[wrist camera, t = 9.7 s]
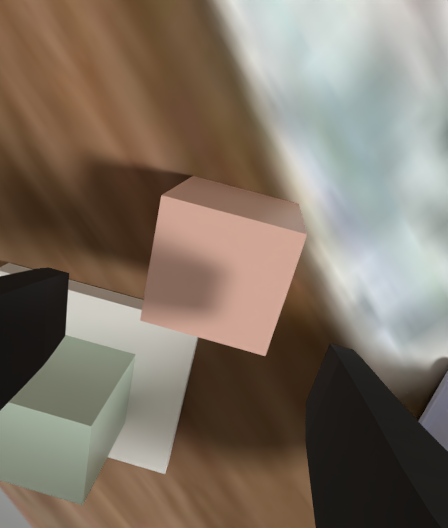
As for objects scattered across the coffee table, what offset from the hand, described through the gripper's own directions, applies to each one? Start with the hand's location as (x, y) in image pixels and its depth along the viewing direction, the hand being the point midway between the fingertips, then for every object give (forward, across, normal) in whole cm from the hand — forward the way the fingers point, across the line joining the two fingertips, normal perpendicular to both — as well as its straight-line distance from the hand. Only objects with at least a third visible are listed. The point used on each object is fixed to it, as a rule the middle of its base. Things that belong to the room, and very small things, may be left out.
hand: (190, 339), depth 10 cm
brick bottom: (+7, +6, +10) cm, 13 cm away
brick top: (+8, 0, 0) cm, 9 cm away
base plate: (+8, +6, +10) cm, 14 cm away
